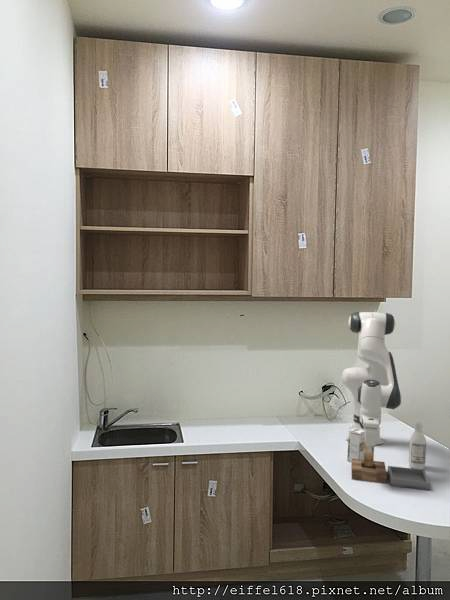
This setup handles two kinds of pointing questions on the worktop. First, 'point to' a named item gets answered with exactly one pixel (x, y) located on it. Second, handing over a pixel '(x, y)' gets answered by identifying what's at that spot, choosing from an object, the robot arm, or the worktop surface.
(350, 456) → the syrup box
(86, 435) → the worktop surface
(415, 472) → the tray
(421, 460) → the bath foam
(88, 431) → the worktop surface
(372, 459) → the dowel
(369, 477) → the holder
